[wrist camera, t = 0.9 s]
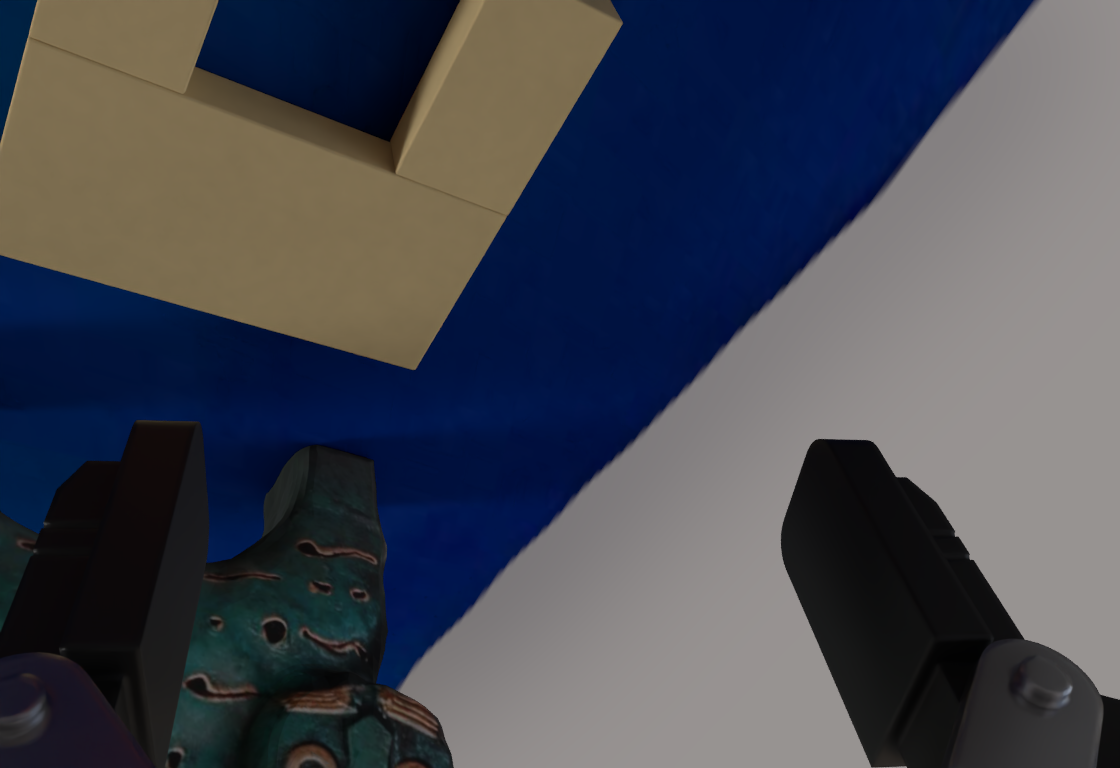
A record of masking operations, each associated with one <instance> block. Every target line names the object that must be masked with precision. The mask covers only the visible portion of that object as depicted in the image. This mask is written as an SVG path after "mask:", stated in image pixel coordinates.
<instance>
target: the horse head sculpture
mask: <svg viewBox="0 0 1120 768" xmlns="http://www.w3.org/2000/svg"><path fill="white" fill-rule="evenodd" d="M38 536H39V534H37V533H36V532H34V531H32V530H30V529H28V528H26V527H24V526H22V525H20V524H18V523H16V522H15V521H13V520H12V519H10V518H9V517H7V516H6V515H4V514H3V513H1V511H0V632H1V629H2V627H3V624H4V622H5V619H6V616H7V614H8V611H9V609H10V606H11V604H12V601H13V599H14V596H15V594H16V591H17V589H18V586H19V584H20V581H21V579H22V576H23V574H24V571H25V569H26V566H27V564H28V561H29V559H30V556H33V549H34V546H35V543H36V541H37V538H38ZM386 556H387V546H386V543H385V539H384V536H383V533H382V529H381V525H380V520H379V515H378V509H377V498H376V482H375V472H374V460H371V459H367V458H364V457H360V456H357V455H353V454H350V453H347V452H343V451H339V450H336V449H332V448H328V447H324V446H320V445H312V446H308V447H306V448H303V449H301V450H300V451H298V452H296V453H295V454H294V455H293V456H292V458H291V459H290V460H289V461H288V462H287V463H286V464H285V466H284V467H283V469H282V471H281V473H280V475H279V477H278V478H277V480H276V482H275V484H274V486H273V487H272V489H271V490H270V491H269V493H266V497H265V501H264V532H263V536H262V538H261V539H260V540H259V541H257V542H256V543H255V544H254V545H252V546H251V547H249V548H247V549H246V550H244V551H243V552H241V553H240V554H238V555H237V556H235V557H234V558H232V559H229V560H224V561H218V562H213V563H206V566H205V571H204V576H203V581H202V586H201V591H200V596H199V601H198V606H197V611H196V616H195V621H194V626H193V630H192V635H191V640H190V645H189V650H188V655H187V660H186V665H185V670H184V675H183V680H182V685H181V690H180V695H179V700H178V705H177V710H176V715H175V720H174V725H173V730H172V735H171V740H170V745H169V750H168V755H167V760H166V764H165V768H454V767H453V761H452V756H451V752H450V750H449V748H448V745H447V743H446V741H445V737H444V733H443V730H442V727H441V724H440V722H439V720H438V718H437V717H436V716H435V715H433V714H432V713H431V712H430V711H429V710H428V709H427V708H426V707H425V706H423V705H422V704H420V703H419V702H417V701H415V700H414V699H412V698H410V697H408V696H406V695H404V694H402V693H400V692H398V691H396V690H394V689H392V688H390V687H388V686H386V685H381V684H376V681H377V676H378V672H379V669H380V665H381V662H382V659H383V655H384V651H385V643H386V637H387V633H388V628H387V621H386V610H385V593H384V586H383V571H384V566H385V561H386Z"/></svg>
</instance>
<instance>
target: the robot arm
mask: <svg viewBox="0 0 1120 768" xmlns="http://www.w3.org/2000/svg"><path fill="white" fill-rule="evenodd" d="M954 533H955V531H954V529H953V528H952V526H951V524H950V523H949V521H948V520H947V518H946V516H945V515H944V514H943V512H942V510H941V509H940V507H939V506H938V504H937V503H936V502H935V501H934V500H933V499H932V498H930V497H929V496H928V495H927V494H926V493H925V492H923V491H922V490H921V489H920V488H919V487H917V486H916V485H915V484H914V483H913V482H912V481H910V480H909V479H908V478H905V477H904V478H903V477H901V478H900V477H896V476H895V475H894V473H893V472H892V470H891V468H890V467H889V465H888V464H887V462H886V460H885V458H884V457H883V455H882V454H881V452H880V450H879V449H878V447H877V446H876V445H875V444H874V443H873V442H871V441H868V440H835V439H818V440H815V441H814V442H813V443H812V444H811V445H810V447H809V449H808V451H807V454H806V457H805V460H804V463H803V466H802V468H801V472H800V474H799V477H798V480H797V483H796V486H795V489H794V492H793V495H792V498H791V501H790V504H789V506H788V509H787V512H786V515H785V518H784V522H783V526H782V532H781V549H782V557H783V561H784V565H785V568H786V570H787V573H788V575H789V577H790V580H791V582H792V584H793V586H794V589H795V591H796V593H797V596H798V598H799V600H800V603H801V605H802V607H803V609H804V612H805V614H806V616H807V619H808V621H809V623H810V626H811V628H812V630H813V633H814V635H815V637H816V639H817V642H818V644H819V646H820V649H821V651H822V653H823V656H824V658H825V660H826V663H827V665H828V667H829V670H830V672H831V674H832V677H833V679H834V681H835V684H836V686H837V688H838V690H839V693H840V695H841V698H842V700H843V702H844V704H845V707H846V709H847V711H848V714H849V716H850V718H851V721H852V723H853V725H854V728H855V730H856V732H857V735H858V737H859V739H860V742H861V744H862V746H863V748H864V751H865V753H866V755H867V758H868V760H869V762H870V765H871V767H897V766H907V768H1120V700H1118V699H1114V698H1110V697H1106V696H1103V695H1100V694H1099V692H1098V690H1097V688H1096V687H1095V685H1094V684H1093V682H1092V681H1091V679H1090V678H1089V677H1088V676H1087V675H1086V674H1085V673H1084V672H1083V671H1082V670H1081V669H1080V668H1079V667H1078V666H1077V665H1076V664H1074V663H1073V662H1072V661H1071V660H1069V659H1068V658H1067V657H1065V656H1063V655H1062V654H1060V653H1059V652H1057V651H1055V650H1053V649H1051V648H1049V647H1046V646H1044V645H1041V644H1039V643H1035V642H1032V641H1028V640H1024V638H1023V636H1022V635H1021V633H1020V632H1019V630H1018V629H1017V627H1016V626H1015V624H1014V623H1013V621H1012V619H1011V618H1010V616H1009V615H1008V613H1007V612H1006V610H1005V608H1004V607H1003V605H1002V604H1001V602H1000V600H999V599H998V598H997V596H996V594H995V593H994V591H993V590H992V588H991V586H990V585H989V583H988V582H987V580H986V579H985V577H984V576H983V574H982V573H981V571H980V570H979V568H978V566H977V565H976V563H975V562H974V560H970V559H969V555H970V554H969V552H968V551H967V549H966V548H965V546H964V544H963V543H962V541H961V540H960V538H959V537H955V534H954ZM208 539H209V511H208V498H207V485H206V472H205V459H204V446H203V434H202V428H201V424H200V422H188V421H148V420H137V421H135V423H134V424H133V427H132V429H131V432H130V435H129V438H128V441H127V444H126V447H125V450H124V453H123V456H122V459H121V462H119V461H86V462H85V463H84V464H83V465H82V466H81V467H80V468H79V469H78V470H77V471H76V472H75V473H74V474H73V475H72V476H71V477H70V478H68V479H67V480H66V481H65V482H64V483H63V484H62V485H61V486H60V487H59V488H58V489H57V491H56V493H55V496H54V498H53V501H52V503H51V506H50V508H49V511H48V513H47V516H46V518H45V521H44V529H41V531H40V533H39V536H38V538H37V541H36V543H35V546H34V549H33V556H30V559H29V561H28V564H27V566H26V569H25V571H24V574H23V576H22V579H21V581H20V584H19V586H18V589H17V591H16V594H15V596H14V599H13V601H12V604H11V606H10V609H9V611H8V614H7V616H6V619H5V622H4V624H3V627H2V629H1V632H0V768H165V764H166V760H167V755H168V750H169V745H170V740H171V735H172V730H173V725H174V720H175V715H176V710H177V705H178V700H179V695H180V690H181V685H182V680H183V675H184V670H185V665H186V660H187V655H188V650H189V645H190V640H191V635H192V630H193V626H194V621H195V616H196V611H197V606H198V601H199V596H200V591H201V586H202V581H203V576H204V571H205V566H206V560H207V552H208Z"/></svg>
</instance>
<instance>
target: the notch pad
mask: <svg viewBox="0 0 1120 768" xmlns="http://www.w3.org/2000/svg"><path fill="white" fill-rule="evenodd" d="M217 3H218V0H37V4H36V8H35V12H34V16H33V20H32V23H31V27H30V31H29V36H28V39H27V43H26V47H25V51H24V54H23V58H22V62H21V66H20V70H19V74H18V78H17V81H16V85H15V89H14V93H13V97H12V101H11V105H10V108H9V112H8V116H7V120H6V124H5V128H4V132H3V135H2V139H1V143H0V255H2V256H6V257H10V258H13V259H17V260H20V261H24V262H28V263H31V264H35V265H38V266H42V267H46V268H49V269H53V270H56V271H60V272H63V273H67V274H71V275H74V276H78V277H81V278H85V279H89V280H92V281H96V282H99V283H103V284H107V285H110V286H114V287H117V288H121V289H124V290H128V291H132V292H135V293H139V294H142V295H146V296H150V297H153V298H157V299H160V300H164V301H167V302H171V303H175V304H178V305H182V306H185V307H189V308H193V309H196V310H200V311H203V312H207V313H211V314H214V315H218V316H221V317H225V318H228V319H232V320H236V321H239V322H243V323H246V324H250V325H254V326H257V327H261V328H264V329H268V330H272V331H275V332H279V333H282V334H286V335H289V336H293V337H297V338H300V339H304V340H307V341H311V342H315V343H318V344H322V345H325V346H329V347H333V348H336V349H340V350H343V351H347V352H350V353H354V354H358V355H361V356H365V357H368V358H372V359H376V360H379V361H383V362H386V363H390V364H394V365H397V366H401V367H404V368H408V369H411V370H415V369H416V368H417V366H418V364H419V363H420V361H421V359H422V357H423V356H424V354H425V352H426V351H427V349H428V347H429V346H430V344H431V342H432V341H433V339H434V337H435V336H436V334H437V332H438V331H439V329H440V327H441V326H442V324H443V322H444V321H445V319H446V317H447V316H448V314H449V312H450V311H451V309H452V307H453V306H454V304H455V302H456V301H457V299H458V297H459V296H460V294H461V292H462V291H463V289H464V287H465V286H466V284H467V282H468V281H469V279H470V277H471V276H472V274H473V272H474V271H475V269H476V267H477V266H478V264H479V262H480V261H481V259H482V257H483V256H484V254H485V252H486V251H487V249H488V247H489V246H490V244H491V242H492V241H493V239H494V237H495V236H496V234H497V232H498V231H499V229H500V227H501V226H502V224H503V222H504V221H505V219H506V215H509V213H510V211H511V210H512V208H513V206H514V204H515V203H516V201H517V199H518V198H519V196H520V194H521V193H522V191H523V189H524V188H525V186H526V184H527V183H528V181H529V179H530V178H531V176H532V174H533V173H534V171H535V169H536V168H537V166H538V164H539V163H540V161H541V159H542V158H543V156H544V154H545V153H546V151H547V149H548V148H549V146H550V144H551V143H552V141H553V139H554V138H555V136H556V134H557V133H558V131H559V129H560V128H561V126H562V124H563V123H564V121H565V119H566V118H567V116H568V114H569V113H570V111H571V109H572V108H573V106H574V104H575V103H576V101H577V99H578V98H579V96H580V94H581V93H582V91H583V89H584V88H585V86H586V84H587V83H588V81H589V79H590V78H591V76H592V74H593V73H594V71H595V69H596V68H597V66H598V64H599V63H600V61H601V59H602V58H603V56H604V54H605V53H606V51H607V49H608V48H609V46H610V44H611V43H612V41H613V39H614V38H615V36H616V34H617V33H618V31H619V29H620V28H621V26H622V24H623V22H622V20H621V19H620V17H619V15H618V13H617V12H616V10H615V8H614V6H613V5H612V3H611V1H610V0H460V2H459V4H458V6H457V8H456V10H455V12H454V14H453V16H452V18H451V20H450V22H449V24H448V26H447V28H446V30H445V32H444V34H443V36H442V38H441V40H440V42H439V44H438V46H437V48H436V50H435V52H434V54H433V56H432V58H431V60H430V62H429V64H428V66H427V68H426V70H425V72H424V74H423V76H422V78H421V80H420V82H419V84H418V86H417V88H416V90H415V92H414V94H413V96H412V98H411V100H410V102H409V104H408V106H407V108H406V110H405V112H404V114H403V116H402V118H401V120H400V122H399V124H398V126H397V128H396V130H395V132H394V134H393V136H392V138H391V140H390V142H391V143H390V142H388V141H385V140H383V139H380V138H378V137H375V136H372V135H370V134H367V133H365V132H362V131H359V130H357V129H354V128H352V127H349V126H347V125H344V124H341V123H339V122H336V121H334V120H331V119H329V118H326V117H323V116H321V115H318V114H316V113H313V112H311V111H308V110H305V109H303V108H300V107H298V106H295V105H292V104H290V103H287V102H285V101H282V100H280V99H277V98H274V97H272V96H269V95H267V94H264V93H262V92H259V91H256V90H254V89H251V88H249V87H246V86H244V85H241V84H238V83H236V82H233V81H231V80H228V79H226V78H223V77H220V76H218V75H215V74H213V73H210V72H207V71H205V70H202V69H200V68H197V67H195V64H196V61H197V58H198V56H199V53H200V50H201V47H202V45H203V42H204V39H205V36H206V34H207V31H208V28H209V25H210V22H211V20H212V17H213V14H214V11H215V9H216V6H217Z"/></svg>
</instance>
